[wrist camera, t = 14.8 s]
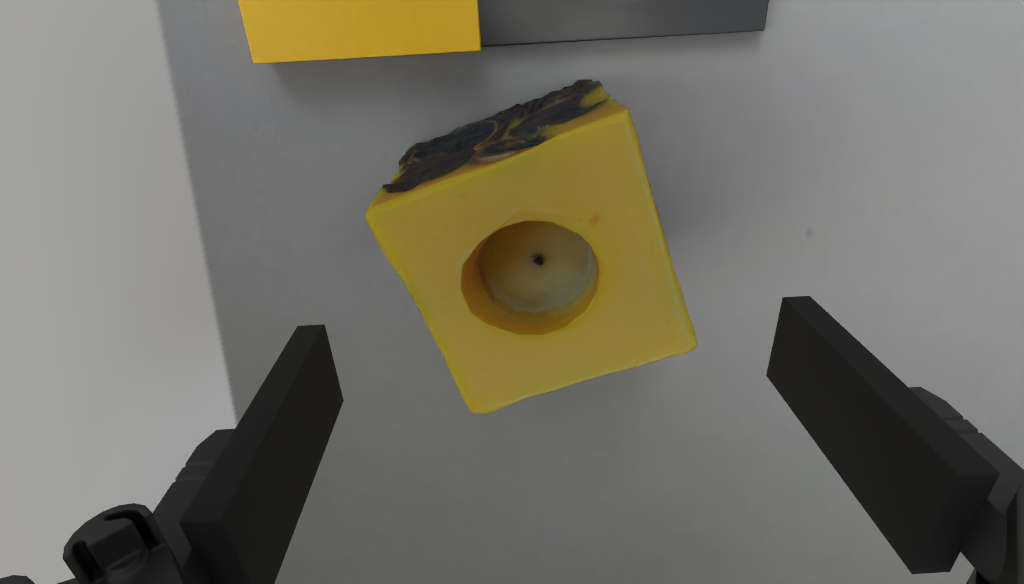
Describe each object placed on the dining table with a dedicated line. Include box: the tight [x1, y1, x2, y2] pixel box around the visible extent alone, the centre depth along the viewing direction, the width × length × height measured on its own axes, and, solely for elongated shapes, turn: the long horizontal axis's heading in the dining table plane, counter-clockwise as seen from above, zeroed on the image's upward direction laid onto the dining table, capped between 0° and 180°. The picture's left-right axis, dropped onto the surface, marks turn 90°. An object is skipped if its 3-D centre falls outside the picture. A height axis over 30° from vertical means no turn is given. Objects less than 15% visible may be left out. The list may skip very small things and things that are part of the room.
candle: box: [365, 80, 697, 414], centre depth 24 cm, size 10×10×10 cm
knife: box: [238, 0, 769, 64], centre depth 24 cm, size 23×3×2 cm, turn 93°
